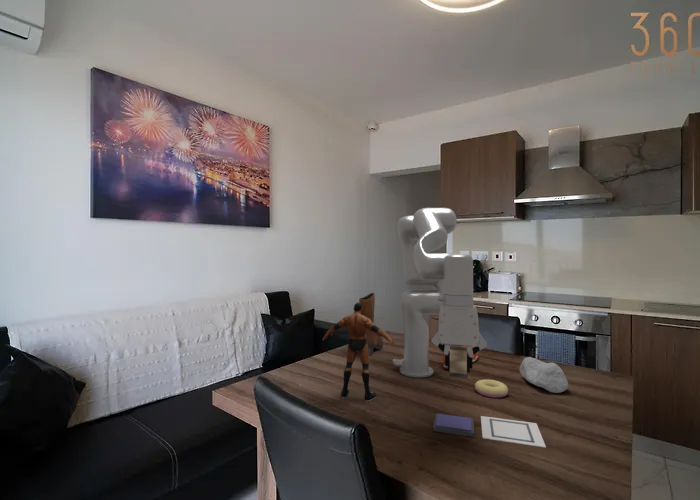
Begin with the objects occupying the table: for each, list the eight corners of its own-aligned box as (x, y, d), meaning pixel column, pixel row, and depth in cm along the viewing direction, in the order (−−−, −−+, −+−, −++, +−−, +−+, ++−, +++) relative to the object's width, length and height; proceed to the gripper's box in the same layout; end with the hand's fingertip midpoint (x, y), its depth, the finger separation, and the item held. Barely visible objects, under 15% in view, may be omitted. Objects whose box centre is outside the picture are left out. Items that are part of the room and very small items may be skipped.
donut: (480, 392, 122) (472, 397, 114) (479, 378, 123) (470, 382, 115) (512, 394, 116) (504, 399, 108) (510, 379, 117) (502, 383, 109)
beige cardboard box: (449, 376, 92) (449, 349, 92) (450, 370, 96) (450, 345, 96) (467, 378, 90) (467, 351, 90) (467, 372, 95) (467, 346, 94)
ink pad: (433, 430, 91) (433, 425, 91) (435, 417, 99) (435, 412, 99) (474, 437, 88) (474, 431, 88) (473, 422, 96) (473, 417, 96)
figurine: (397, 397, 112) (396, 303, 112) (392, 405, 106) (392, 306, 106) (326, 388, 120) (326, 300, 120) (319, 395, 114) (318, 302, 114)
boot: (372, 342, 180) (371, 289, 180) (388, 344, 176) (388, 290, 176) (348, 355, 158) (347, 295, 158) (366, 358, 153) (366, 296, 154)
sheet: (482, 438, 87) (482, 437, 87) (480, 416, 99) (480, 415, 99) (546, 447, 83) (546, 446, 83) (536, 423, 94) (536, 422, 94)
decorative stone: (579, 385, 114) (561, 360, 114) (557, 405, 112) (539, 380, 112) (542, 371, 131) (526, 349, 131) (522, 388, 129) (507, 366, 129)
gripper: (424, 301, 92) (424, 371, 92) (493, 304, 87) (493, 378, 87) (427, 297, 100) (428, 362, 100) (491, 300, 94) (492, 368, 94)
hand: (458, 369), depth 93 cm, fingers closed on beige cardboard box, 4 cm apart
